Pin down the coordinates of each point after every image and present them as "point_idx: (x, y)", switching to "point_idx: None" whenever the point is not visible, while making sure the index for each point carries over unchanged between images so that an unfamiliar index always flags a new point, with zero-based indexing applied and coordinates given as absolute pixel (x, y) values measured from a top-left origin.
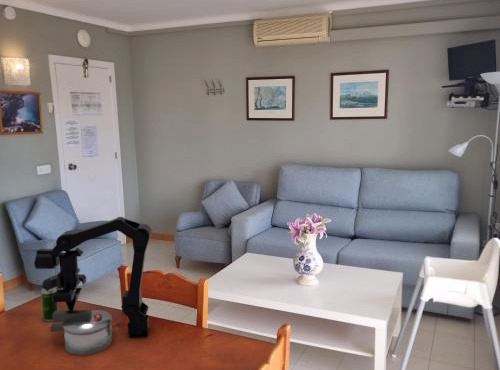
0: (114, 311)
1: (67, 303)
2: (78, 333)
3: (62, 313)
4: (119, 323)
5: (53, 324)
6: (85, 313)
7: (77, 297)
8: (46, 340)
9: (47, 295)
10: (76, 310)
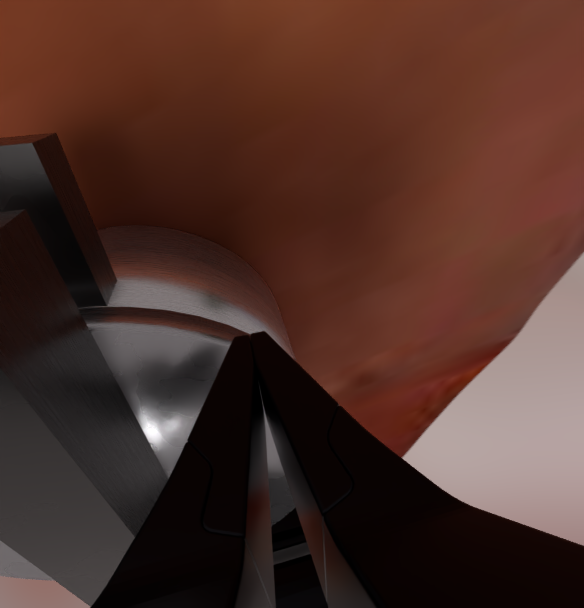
0: (515, 310)
1: (188, 461)
2: None
3: None
4: (376, 378)
5: (22, 159)
6: (75, 591)
7: (321, 579)
8: (120, 3)
9: None
10: (113, 520)
